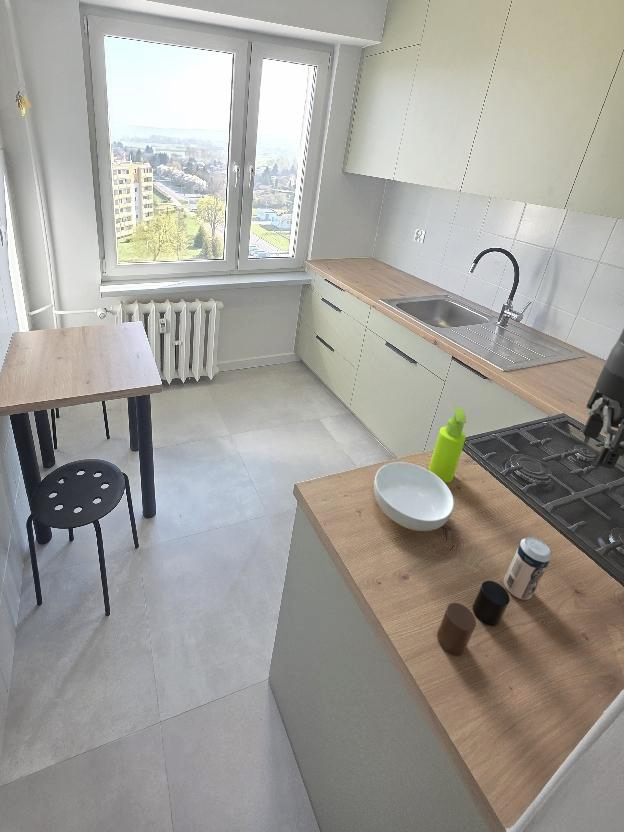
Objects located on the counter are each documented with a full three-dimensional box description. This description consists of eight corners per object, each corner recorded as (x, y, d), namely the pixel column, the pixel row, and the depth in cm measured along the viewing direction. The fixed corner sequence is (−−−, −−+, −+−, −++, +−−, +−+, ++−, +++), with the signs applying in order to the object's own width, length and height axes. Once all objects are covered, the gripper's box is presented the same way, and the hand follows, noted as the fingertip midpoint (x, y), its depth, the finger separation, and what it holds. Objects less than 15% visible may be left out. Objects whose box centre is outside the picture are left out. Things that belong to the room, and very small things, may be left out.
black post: (498, 607, 77) (508, 586, 75) (501, 631, 74) (511, 609, 71) (472, 597, 79) (480, 576, 76) (473, 619, 75) (482, 598, 73)
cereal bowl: (356, 491, 101) (360, 469, 99) (411, 477, 107) (417, 455, 104) (402, 552, 87) (409, 528, 84) (463, 532, 92) (472, 508, 89)
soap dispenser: (429, 481, 105) (448, 417, 97) (427, 463, 112) (445, 401, 103) (454, 488, 104) (476, 423, 96) (451, 469, 110) (471, 406, 102)
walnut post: (464, 634, 73) (475, 609, 70) (465, 661, 69) (476, 635, 66) (437, 623, 74) (446, 598, 72) (436, 648, 71) (446, 622, 68)
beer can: (530, 606, 78) (552, 563, 73) (501, 590, 80) (520, 547, 75) (532, 586, 81) (553, 544, 76) (504, 572, 84) (523, 530, 79)
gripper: (687, 400, 60) (638, 485, 66) (646, 357, 72) (609, 433, 78) (622, 386, 62) (581, 469, 69) (593, 347, 74) (561, 421, 81)
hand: (596, 450), depth 74 cm, fingers open, 8 cm apart
